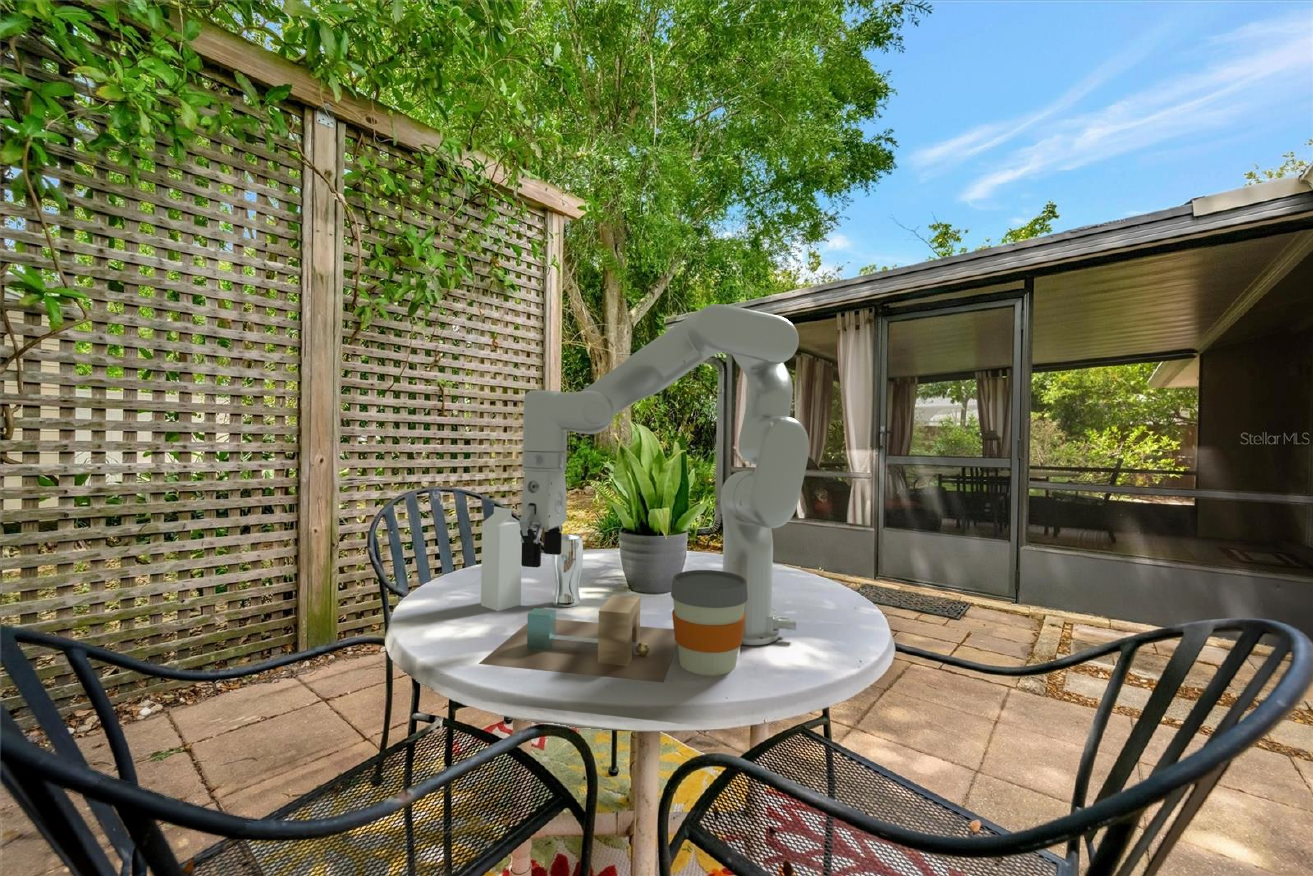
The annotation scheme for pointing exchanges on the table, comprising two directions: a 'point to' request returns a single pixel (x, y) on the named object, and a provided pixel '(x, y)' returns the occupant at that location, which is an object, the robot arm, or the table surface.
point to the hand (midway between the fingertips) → (542, 560)
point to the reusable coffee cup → (708, 619)
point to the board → (587, 654)
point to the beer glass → (568, 571)
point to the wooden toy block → (618, 629)
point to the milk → (501, 561)
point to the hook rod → (545, 637)
